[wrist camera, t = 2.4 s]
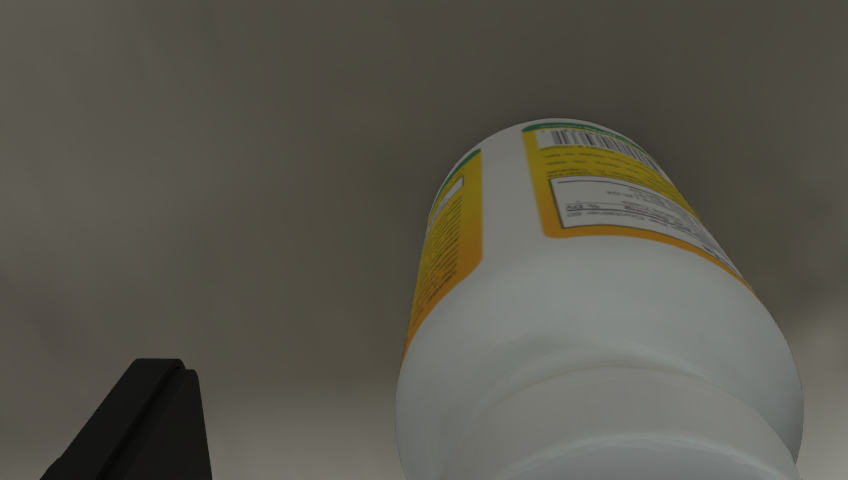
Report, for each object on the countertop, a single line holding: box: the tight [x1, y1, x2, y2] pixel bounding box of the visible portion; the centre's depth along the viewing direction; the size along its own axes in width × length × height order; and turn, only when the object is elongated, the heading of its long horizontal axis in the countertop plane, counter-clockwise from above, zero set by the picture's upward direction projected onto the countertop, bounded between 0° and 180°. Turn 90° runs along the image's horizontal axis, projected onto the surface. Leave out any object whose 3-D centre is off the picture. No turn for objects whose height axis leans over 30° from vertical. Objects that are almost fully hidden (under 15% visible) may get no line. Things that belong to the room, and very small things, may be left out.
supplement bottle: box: [395, 118, 803, 480], centre depth 12 cm, size 5×5×10 cm
